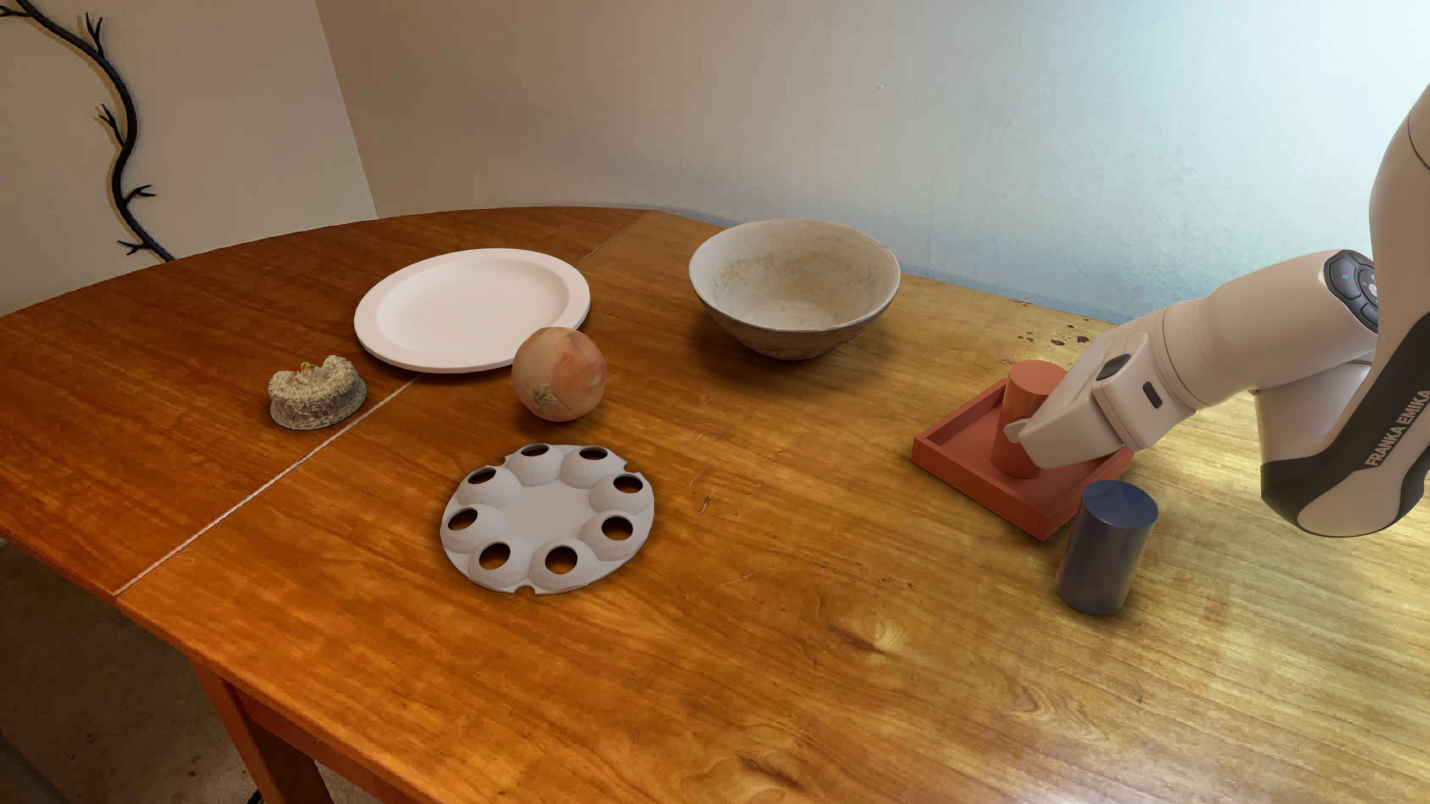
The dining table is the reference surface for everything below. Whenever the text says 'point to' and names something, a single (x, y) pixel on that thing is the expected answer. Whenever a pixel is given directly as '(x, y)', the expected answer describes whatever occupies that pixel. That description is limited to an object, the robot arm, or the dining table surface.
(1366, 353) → the robot arm
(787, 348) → the bowl
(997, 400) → the rust tray
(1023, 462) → the terracotta canister
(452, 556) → the grey disc with holes
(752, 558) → the dining table surface
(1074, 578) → the slate-blue canister
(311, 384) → the cake
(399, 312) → the plate
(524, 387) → the onion
